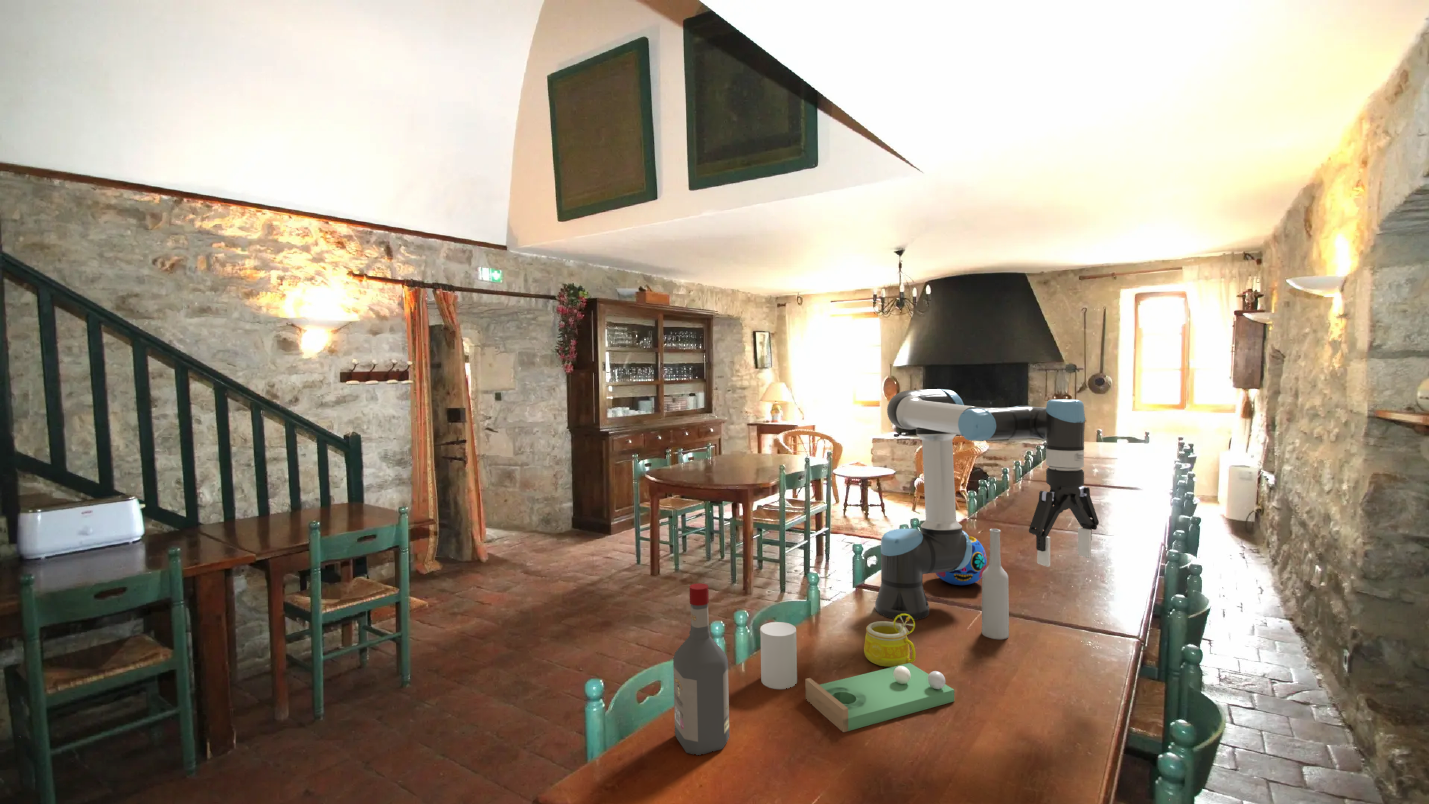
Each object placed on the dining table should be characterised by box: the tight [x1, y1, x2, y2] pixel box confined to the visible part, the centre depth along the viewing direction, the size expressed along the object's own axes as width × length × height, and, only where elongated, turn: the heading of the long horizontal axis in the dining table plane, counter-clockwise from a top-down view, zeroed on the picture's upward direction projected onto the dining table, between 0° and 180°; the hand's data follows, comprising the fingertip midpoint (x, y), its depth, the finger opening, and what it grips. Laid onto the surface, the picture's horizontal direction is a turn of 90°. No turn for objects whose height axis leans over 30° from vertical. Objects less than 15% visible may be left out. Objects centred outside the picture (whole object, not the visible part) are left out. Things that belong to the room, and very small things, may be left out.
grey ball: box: [928, 670, 946, 689], centre depth 135 cm, size 4×4×4 cm
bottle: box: [981, 528, 1010, 640], centre depth 168 cm, size 7×7×28 cm
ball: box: [893, 666, 911, 684], centre depth 138 cm, size 4×4×4 cm
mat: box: [804, 662, 955, 733], centre depth 136 cm, size 14×28×4 cm, turn 113°
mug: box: [863, 614, 917, 668], centre depth 154 cm, size 13×11×12 cm
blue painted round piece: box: [935, 535, 988, 586], centre depth 210 cm, size 18×18×15 cm
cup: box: [759, 621, 798, 690], centre depth 145 cm, size 8×8×12 cm
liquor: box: [672, 582, 730, 756], centre depth 121 cm, size 9×9×30 cm
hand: (1064, 560), depth 145 cm, fingers open, 13 cm apart
